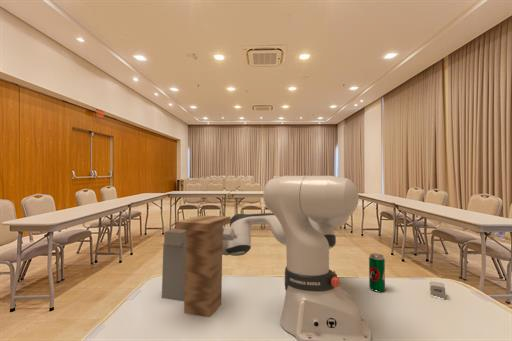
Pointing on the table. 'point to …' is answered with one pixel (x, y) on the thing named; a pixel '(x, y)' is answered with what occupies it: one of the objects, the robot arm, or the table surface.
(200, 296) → the brown wooden post
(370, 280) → the soda can
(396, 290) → the table surface
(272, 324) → the table surface
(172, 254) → the pedestal
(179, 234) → the link bar
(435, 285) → the usb wall charger
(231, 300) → the table surface
